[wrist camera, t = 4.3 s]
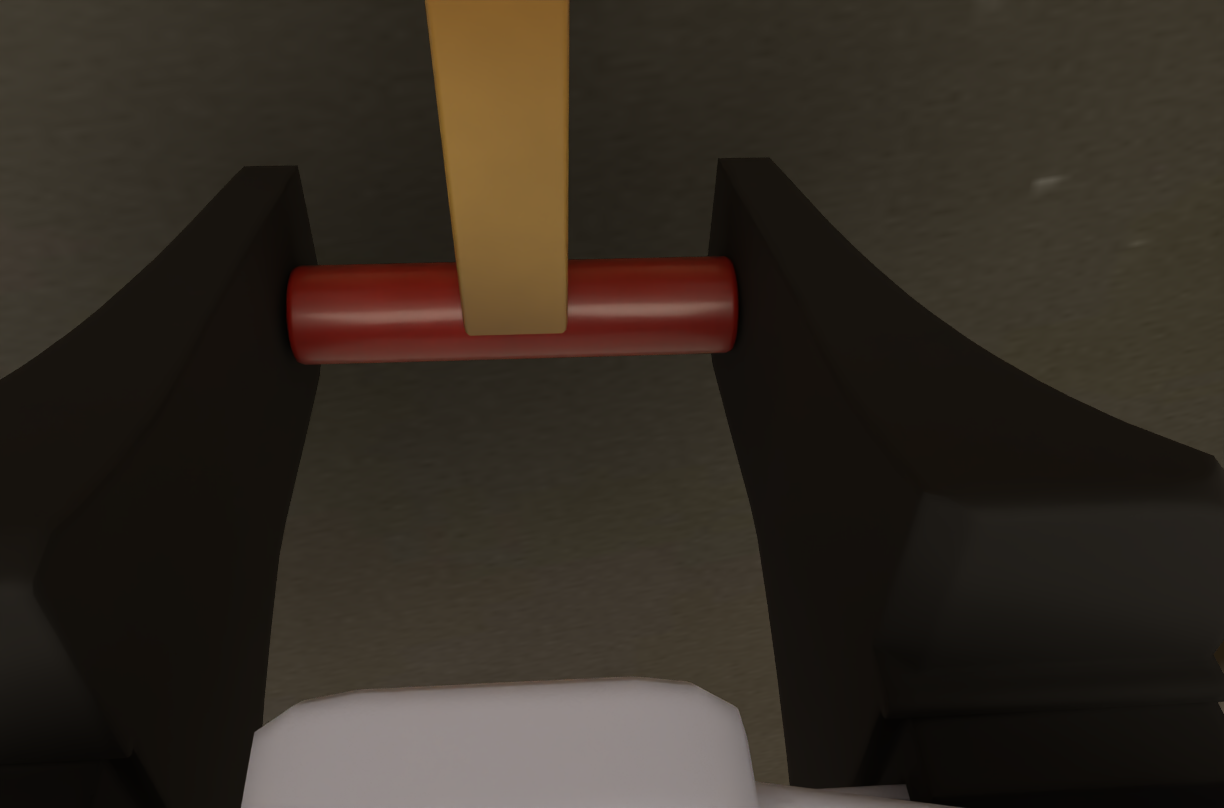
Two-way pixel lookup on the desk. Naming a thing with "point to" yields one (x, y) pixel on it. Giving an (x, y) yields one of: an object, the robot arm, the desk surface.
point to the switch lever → (508, 229)
